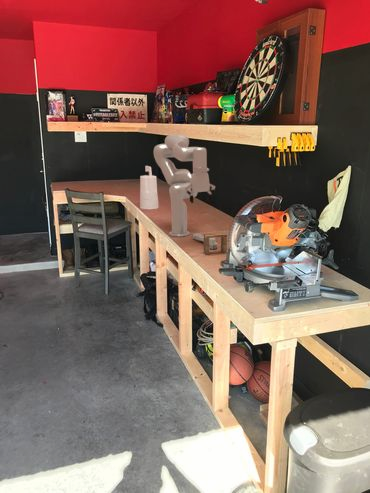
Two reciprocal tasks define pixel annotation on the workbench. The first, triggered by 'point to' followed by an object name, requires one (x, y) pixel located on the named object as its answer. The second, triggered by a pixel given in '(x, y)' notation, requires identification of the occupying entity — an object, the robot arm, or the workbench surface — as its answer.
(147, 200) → the white pump bottle
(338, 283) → the workbench surface
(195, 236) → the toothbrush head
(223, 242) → the walnut sleeve
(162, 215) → the workbench surface
